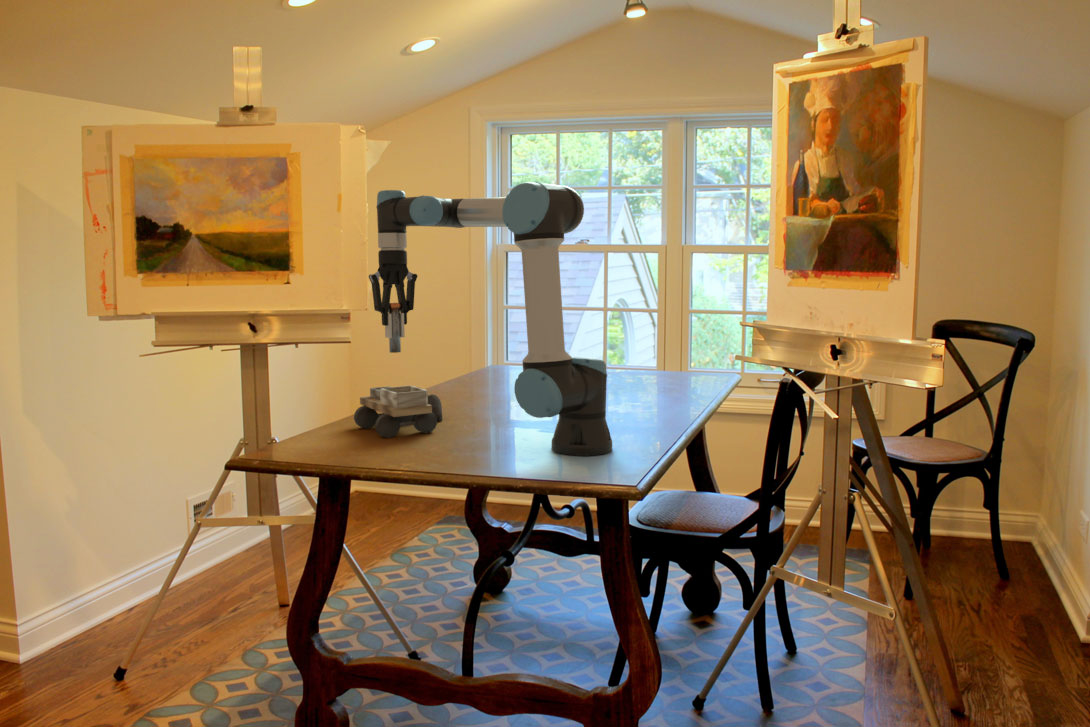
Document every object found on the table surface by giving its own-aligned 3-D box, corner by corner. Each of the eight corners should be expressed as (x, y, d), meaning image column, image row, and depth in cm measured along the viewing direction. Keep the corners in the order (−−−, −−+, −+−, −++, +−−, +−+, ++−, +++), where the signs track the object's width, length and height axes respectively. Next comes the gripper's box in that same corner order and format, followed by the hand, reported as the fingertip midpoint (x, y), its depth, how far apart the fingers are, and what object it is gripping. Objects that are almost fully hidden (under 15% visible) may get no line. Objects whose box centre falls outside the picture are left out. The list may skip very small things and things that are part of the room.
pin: (404, 352, 236) (402, 303, 235) (391, 353, 234) (390, 303, 233) (398, 351, 239) (397, 302, 238) (386, 351, 237) (384, 303, 236)
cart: (442, 433, 235) (441, 389, 234) (383, 441, 226) (382, 395, 224) (405, 420, 253) (405, 379, 252) (350, 426, 244) (349, 383, 242)
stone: (424, 436, 250) (449, 412, 250) (403, 414, 250) (429, 390, 250) (429, 434, 259) (453, 411, 260) (409, 413, 260) (433, 390, 260)
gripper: (413, 249, 241) (415, 334, 244) (358, 249, 232) (361, 338, 235) (426, 249, 235) (428, 336, 238) (370, 249, 226) (372, 340, 229)
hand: (394, 337), depth 236 cm, fingers closed on pin, 3 cm apart
